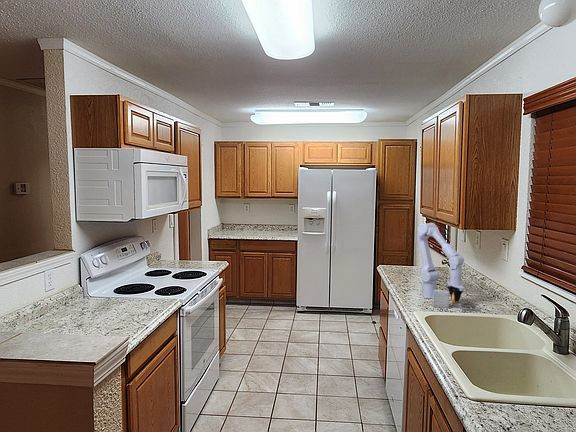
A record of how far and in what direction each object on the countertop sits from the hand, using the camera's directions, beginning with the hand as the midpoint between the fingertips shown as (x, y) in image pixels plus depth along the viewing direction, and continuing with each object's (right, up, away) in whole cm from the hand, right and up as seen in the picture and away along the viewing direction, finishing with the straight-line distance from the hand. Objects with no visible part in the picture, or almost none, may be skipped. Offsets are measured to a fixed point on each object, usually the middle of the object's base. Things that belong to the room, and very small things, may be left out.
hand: (454, 300), depth 219 cm
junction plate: (+4, -2, -8) cm, 9 cm away
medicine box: (-10, -2, -5) cm, 12 cm away
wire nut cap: (0, -2, 0) cm, 2 cm away
